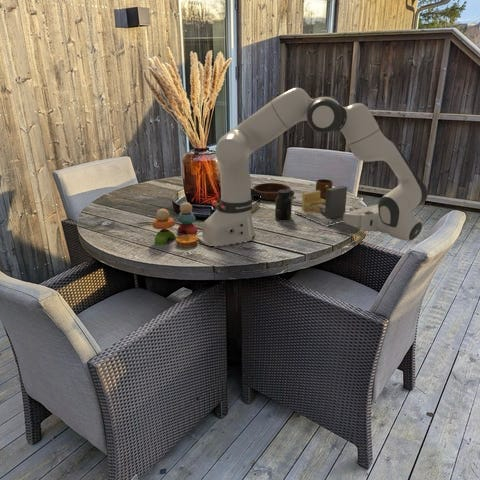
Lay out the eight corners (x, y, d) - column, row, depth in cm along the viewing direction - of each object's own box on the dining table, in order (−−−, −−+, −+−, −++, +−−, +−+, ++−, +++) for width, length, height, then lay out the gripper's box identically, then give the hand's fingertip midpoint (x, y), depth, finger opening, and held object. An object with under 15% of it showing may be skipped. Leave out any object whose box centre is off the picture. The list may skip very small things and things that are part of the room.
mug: (335, 205, 201) (336, 185, 197) (318, 206, 201) (320, 186, 197) (329, 198, 212) (330, 178, 209) (313, 198, 212) (314, 179, 208)
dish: (247, 192, 223) (247, 183, 221) (290, 191, 224) (291, 182, 222) (250, 203, 207) (250, 193, 205) (297, 201, 208) (297, 191, 206)
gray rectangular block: (328, 219, 179) (330, 190, 175) (317, 214, 184) (319, 186, 180) (344, 214, 184) (347, 186, 179) (333, 210, 189) (335, 183, 184)
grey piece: (327, 226, 176) (328, 206, 173) (294, 213, 192) (295, 194, 188) (355, 219, 184) (357, 199, 181) (322, 206, 200) (323, 188, 196)
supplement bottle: (272, 219, 185) (272, 192, 180) (278, 214, 190) (279, 187, 186) (287, 222, 182) (288, 194, 177) (293, 217, 187) (294, 189, 183)
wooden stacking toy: (188, 251, 156) (186, 217, 151) (149, 242, 163) (146, 210, 159) (214, 234, 170) (213, 203, 166) (178, 227, 178) (176, 197, 173)
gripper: (399, 205, 167) (370, 197, 177) (361, 215, 156) (333, 205, 167) (397, 221, 169) (369, 211, 180) (359, 232, 159) (332, 221, 169)
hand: (351, 209), depth 173 cm, fingers closed
